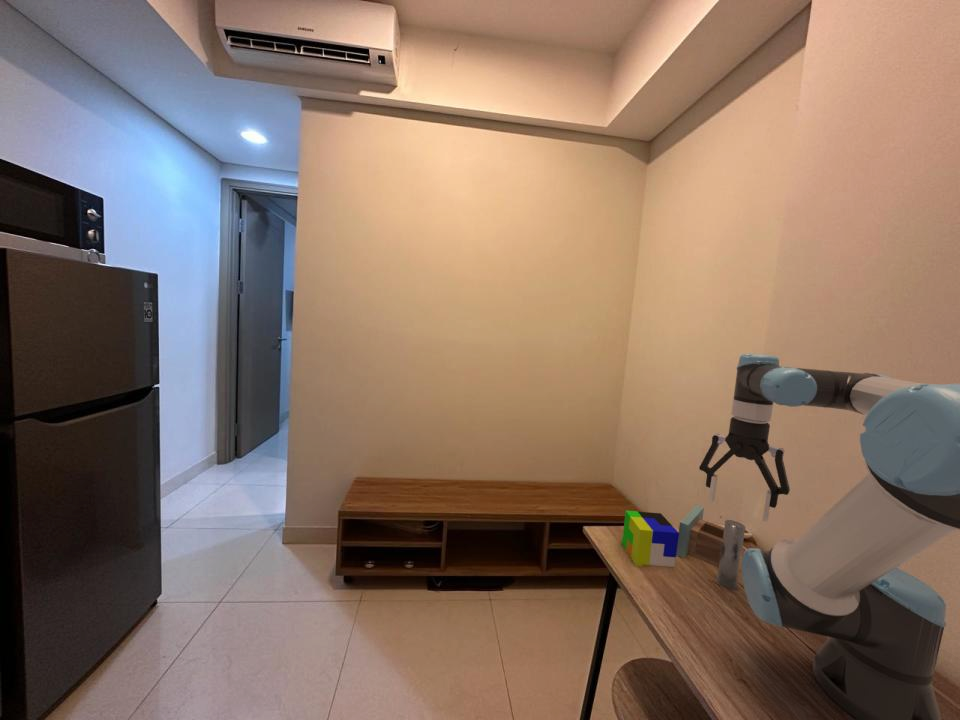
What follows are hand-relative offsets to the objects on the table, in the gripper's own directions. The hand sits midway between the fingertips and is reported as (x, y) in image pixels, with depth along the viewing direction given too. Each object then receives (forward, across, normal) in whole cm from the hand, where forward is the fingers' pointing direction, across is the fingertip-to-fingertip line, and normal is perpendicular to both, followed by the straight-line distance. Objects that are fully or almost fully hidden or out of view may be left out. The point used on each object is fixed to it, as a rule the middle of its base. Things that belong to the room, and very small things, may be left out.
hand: (737, 509), depth 89 cm
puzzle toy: (+20, +18, +3) cm, 27 cm away
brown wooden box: (+19, +6, -11) cm, 23 cm away
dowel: (+20, 0, 0) cm, 20 cm away
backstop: (+20, +2, -11) cm, 23 cm away
